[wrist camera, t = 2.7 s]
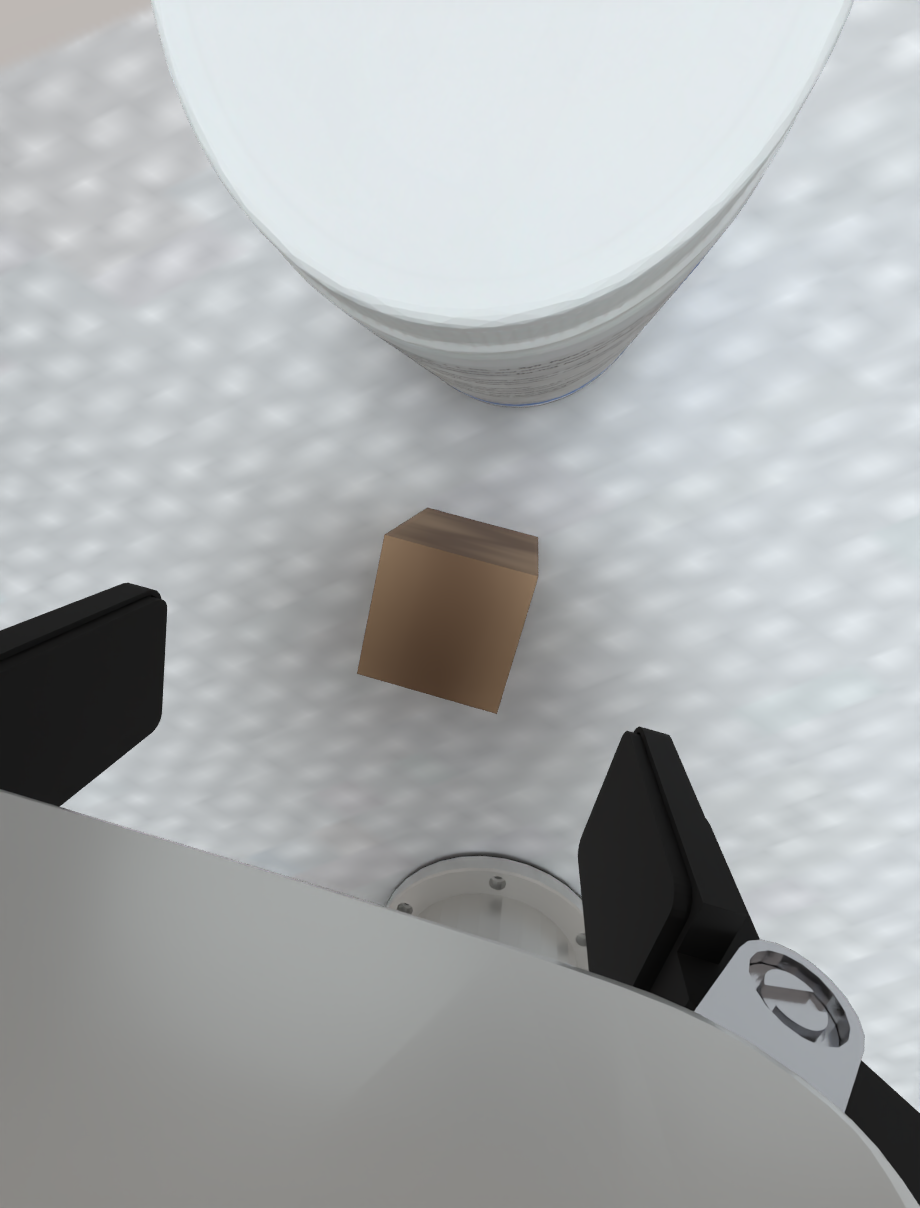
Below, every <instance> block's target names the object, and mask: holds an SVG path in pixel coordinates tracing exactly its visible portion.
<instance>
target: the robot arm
mask: <svg viewBox="0 0 920 1208" xmlns="http://www.w3.org/2000/svg"><path fill="white" fill-rule="evenodd" d="M166 622H167V605H166V602H165V601H164V600H161V596H160V594H159V593H158V592H157V591H156V590H152V589H149V588H145V587H142V586H138V585H134V584H131V583H123V584H121V585H118V586H115V587H113V588H110V589H108V590H105V591H102V592H100V593H97V594H95V595H92V596H89V597H87V598H84V599H81V600H79V601H76V602H74V603H71V604H68V605H66V606H63V607H61V608H58V609H55V610H53V611H50V612H48V613H45V614H42V615H40V616H37V617H35V618H32V619H29V620H27V621H24V622H22V623H19V624H16V625H14V626H11V627H9V628H6V629H3V630H1V631H0V1208H920V1113H919V1112H918V1111H917V1110H915V1109H914V1108H913V1107H912V1106H911V1105H910V1104H909V1103H908V1102H907V1101H906V1100H904V1099H903V1098H902V1097H901V1096H900V1095H899V1094H898V1093H897V1092H896V1091H895V1090H893V1089H892V1088H891V1087H890V1086H889V1085H888V1084H887V1083H886V1082H885V1081H883V1080H882V1079H881V1078H880V1077H879V1076H878V1075H877V1074H876V1073H875V1072H874V1071H872V1070H871V1069H870V1068H869V1067H868V1066H867V1065H866V1064H865V1063H864V1062H863V1061H861V1059H862V1056H863V1053H864V1042H865V1035H864V1032H863V1029H862V1026H861V1023H860V1020H859V1017H858V1016H857V1014H856V1012H855V1011H854V1009H853V1008H852V1006H851V1004H850V1003H849V1001H848V999H847V998H846V997H845V995H844V994H843V993H842V992H841V991H840V990H839V988H838V987H837V986H836V985H835V984H834V983H833V981H832V980H831V979H830V978H829V977H827V976H826V975H825V974H824V973H823V972H822V971H821V970H820V969H818V968H817V967H816V966H815V965H814V964H813V963H811V962H810V961H808V960H807V959H805V958H804V957H802V956H801V955H799V954H798V953H796V952H795V951H793V950H791V949H789V948H786V947H784V946H782V945H780V944H778V943H774V942H770V941H766V940H760V939H759V937H758V934H757V932H756V930H755V927H754V925H753V923H752V921H751V918H750V916H749V914H748V911H747V909H746V907H745V904H744V902H743V900H742V897H741V895H740V893H739V891H738V888H737V886H736V884H735V881H734V879H733V877H732V874H731V872H730V870H729V867H728V865H727V863H726V861H725V858H724V856H723V854H722V851H721V849H720V847H719V844H718V842H717V840H716V837H715V835H714V833H713V831H712V828H711V826H710V824H709V822H708V821H707V819H706V818H705V816H704V814H703V811H702V809H701V807H700V804H699V802H698V800H697V797H696V795H695V793H694V790H693V788H692V786H691V783H690V781H689V779H688V776H687V774H686V772H685V769H684V767H683V765H682V762H681V760H680V758H679V755H678V753H677V751H676V748H675V746H674V744H673V741H672V739H671V737H670V736H669V735H667V734H664V733H660V732H657V731H653V730H650V729H646V728H642V727H638V728H636V729H635V731H634V732H629V731H626V732H625V733H624V734H623V736H622V738H621V741H620V743H619V746H618V748H617V750H616V753H615V755H614V758H613V760H612V763H611V765H610V768H609V770H608V773H607V775H606V778H605V780H604V782H603V785H602V787H601V790H600V792H599V795H598V797H597V800H596V802H595V805H594V807H593V810H592V812H591V814H590V817H589V819H588V822H587V824H586V827H585V829H584V832H583V834H582V837H581V840H580V844H579V849H578V863H579V874H580V884H581V895H582V900H581V899H580V898H579V897H578V896H577V895H576V894H575V893H574V892H573V891H572V890H571V889H570V888H569V887H567V886H566V885H564V884H563V883H561V882H560V881H558V880H557V879H555V878H554V877H552V876H551V875H549V874H547V873H545V872H543V871H541V870H538V869H536V868H534V867H532V866H529V865H527V864H523V863H519V862H516V861H512V860H509V859H504V858H495V857H487V856H471V857H458V858H453V859H448V860H444V861H439V862H437V863H434V864H432V865H429V866H427V867H425V868H422V869H420V870H419V871H417V872H416V873H414V874H413V875H411V876H410V877H408V878H407V879H406V880H405V881H404V882H403V883H402V884H401V885H400V886H399V887H398V888H397V889H396V890H395V891H394V893H393V894H392V896H391V898H390V899H389V901H388V903H387V905H386V907H385V906H382V905H379V904H375V903H372V902H369V901H366V900H362V899H359V898H356V897H353V896H350V895H346V894H343V893H340V892H337V891H333V890H330V889H327V888H324V887H320V886H317V885H314V884H311V883H307V882H304V881H301V880H298V879H294V878H291V877H288V876H285V875H281V874H278V873H275V872H272V871H268V870H265V869H262V868H259V867H255V866H252V865H249V864H246V863H242V862H239V861H236V860H233V859H229V858H226V857H223V856H219V855H216V854H213V853H210V852H206V851H203V850H200V849H196V848H193V847H190V846H187V845H183V844H180V843H177V842H173V841H170V840H167V839H164V838H160V837H157V836H154V835H150V834H147V833H144V832H141V831H137V830H134V829H131V828H127V827H124V826H121V825H118V824H114V823H111V822H108V821H104V820H101V819H98V818H94V817H91V816H88V815H85V814H81V813H78V812H75V811H71V810H68V809H65V808H61V807H60V806H61V805H62V804H63V803H65V802H66V801H67V800H68V799H70V798H71V797H72V796H73V795H75V794H76V793H77V792H78V791H80V790H81V789H82V788H83V787H85V786H86V785H87V784H88V783H90V782H91V781H92V780H93V779H95V778H96V777H97V776H98V775H100V774H101V773H102V772H103V771H105V770H106V769H107V768H108V767H110V766H111V765H112V764H113V763H115V762H116V761H117V760H118V759H120V758H121V757H122V756H123V755H125V754H126V753H127V752H128V751H130V750H131V749H132V748H133V747H135V746H136V745H137V744H138V743H140V742H141V741H142V740H143V739H145V738H146V737H147V736H148V735H150V734H151V733H152V732H153V731H154V730H155V729H156V727H157V726H158V724H159V722H160V719H161V715H162V700H163V681H164V661H165V642H166Z"/></svg>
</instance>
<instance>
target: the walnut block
mask: <svg viewBox="0 0 920 1208" xmlns="http://www.w3.org/2000/svg"><path fill="white" fill-rule="evenodd" d="M537 579H538V537H535V536H531V535H528V534H524V533H520V532H517V531H513V530H509V529H505V528H502V527H498V526H494V525H490V524H487V523H483V522H479V521H475V520H472V519H468V518H464V517H460V516H457V515H453V514H449V513H445V512H442V511H438V510H434V509H431V508H426V509H425V510H423V511H421V512H420V513H418V514H417V515H415V516H414V517H412V518H410V519H409V520H407V521H406V522H404V523H402V524H401V525H399V526H398V527H396V528H394V529H393V530H391V531H390V532H388V533H387V534H385V535H384V540H383V545H382V550H381V555H380V560H379V565H378V570H377V575H376V580H375V586H374V591H373V596H372V601H371V606H370V611H369V616H368V621H367V626H366V631H365V636H364V641H363V646H362V651H361V656H360V661H359V666H358V671H357V674H360V675H364V676H367V677H370V678H374V679H377V680H381V681H384V682H388V683H391V684H395V685H398V686H402V687H405V688H409V689H412V690H416V691H419V692H423V693H426V694H429V695H433V696H436V697H440V698H443V699H447V700H450V701H454V702H457V703H461V704H464V705H468V706H471V707H475V708H478V709H482V710H485V711H489V712H492V713H495V714H497V712H498V708H499V705H500V702H501V698H502V695H503V692H504V688H505V685H506V682H507V679H508V675H509V672H510V669H511V665H512V662H513V659H514V655H515V652H516V649H517V645H518V642H519V639H520V636H521V632H522V629H523V626H524V622H525V619H526V616H527V612H528V609H529V606H530V602H531V599H532V596H533V593H534V589H535V586H536V583H537Z"/></svg>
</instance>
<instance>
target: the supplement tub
mask: <svg viewBox="0 0 920 1208" xmlns="http://www.w3.org/2000/svg"><path fill="white" fill-rule="evenodd" d="M853 2H854V0H151V4H152V9H153V13H154V18H155V22H156V26H157V31H158V33H159V36H160V40H161V44H162V47H163V51H164V54H165V58H166V62H167V65H168V69H169V72H170V75H171V78H172V80H173V83H174V86H175V88H176V91H177V94H178V96H179V99H180V102H181V104H182V107H183V109H184V112H185V114H186V116H187V119H188V121H189V123H190V125H191V127H192V129H193V131H194V133H195V135H196V137H197V140H198V142H199V144H200V146H201V148H202V150H203V151H204V153H205V155H206V157H207V158H208V160H209V162H210V164H211V165H212V167H213V169H214V170H215V172H216V173H217V175H218V177H219V178H220V180H221V181H222V183H223V184H224V186H225V187H226V189H227V190H228V191H229V193H230V194H231V196H232V197H233V199H234V200H235V201H236V203H237V204H238V205H239V206H240V208H241V209H242V210H243V211H244V213H245V214H246V215H247V216H248V217H249V219H250V220H251V221H252V222H253V224H254V225H255V226H256V227H257V229H258V230H259V231H260V232H261V233H262V234H263V235H264V236H265V237H266V238H267V239H268V240H269V241H270V242H271V243H272V244H273V245H274V246H275V247H276V248H277V249H278V250H279V252H280V253H281V254H282V255H283V256H284V258H285V259H286V260H287V261H288V262H289V263H290V264H291V265H292V266H293V268H294V269H295V270H296V271H297V272H298V273H299V274H300V275H301V276H302V277H303V278H304V279H305V280H306V281H307V282H308V283H309V284H310V285H311V286H312V287H314V288H315V289H316V290H317V291H318V292H319V293H321V294H322V295H323V296H324V297H326V298H327V299H328V300H329V301H331V302H332V303H333V304H334V305H336V306H337V307H338V308H340V309H341V310H342V311H344V312H345V313H346V314H348V315H349V316H350V317H352V318H353V319H355V320H356V321H357V322H359V323H360V324H361V325H363V326H364V327H366V328H367V329H368V330H370V331H371V332H373V333H374V334H375V335H377V336H378V337H380V338H381V339H383V340H384V341H386V342H387V343H389V344H390V345H392V346H393V347H395V348H396V349H398V350H399V351H401V352H402V353H404V354H405V355H407V356H408V357H410V358H411V359H413V360H414V361H416V362H417V363H418V364H420V365H421V366H423V367H424V368H426V369H427V370H429V371H430V372H432V373H433V374H435V375H436V376H438V377H439V378H440V379H442V380H443V381H445V382H446V383H447V384H449V385H450V386H452V387H453V388H455V389H457V390H459V391H460V392H462V393H464V394H466V395H468V396H470V397H472V398H474V399H477V400H479V401H483V402H486V403H489V404H493V405H499V406H505V407H531V406H538V405H543V404H546V403H549V402H552V401H556V400H559V399H561V398H564V397H566V396H568V395H571V394H573V393H575V392H576V391H578V390H580V389H582V388H583V387H585V386H586V385H588V384H589V383H590V382H592V381H593V380H594V379H596V378H597V377H598V376H600V375H601V374H602V373H603V372H604V371H605V370H606V369H608V367H609V366H610V365H611V364H612V363H613V362H614V361H615V360H616V359H617V358H618V357H619V356H620V355H621V354H622V353H623V351H624V350H625V349H626V348H627V347H628V345H629V344H630V343H631V342H632V341H633V340H634V339H635V337H636V336H637V335H638V334H639V333H640V332H641V330H642V329H643V328H644V327H645V326H646V325H647V323H648V322H649V321H650V320H651V319H652V318H653V316H654V315H655V314H656V313H657V312H658V311H659V310H660V308H661V307H662V306H663V305H664V304H665V303H666V302H667V300H668V299H669V298H670V297H671V296H672V295H673V294H674V292H675V291H676V290H677V289H678V288H679V287H680V285H681V284H682V283H683V282H684V281H685V280H686V278H687V277H688V276H689V275H690V274H691V273H692V271H693V270H694V269H695V268H696V267H697V266H698V264H699V263H700V262H701V261H702V259H703V258H704V257H705V256H706V254H707V253H708V252H709V250H710V249H711V248H712V247H713V245H714V244H715V243H716V242H717V240H718V239H719V238H720V237H721V235H722V234H723V233H724V232H725V231H726V229H727V228H728V227H729V226H730V224H731V223H732V222H733V220H734V219H735V218H736V216H737V215H738V213H739V212H740V211H741V209H742V208H743V206H744V205H745V204H746V202H747V201H748V199H749V197H750V196H751V194H752V193H753V191H754V190H755V188H756V186H757V185H758V183H759V182H760V180H761V178H762V176H763V175H764V173H765V171H766V170H767V168H768V166H769V165H770V163H771V161H772V160H773V158H774V157H775V155H776V153H777V152H778V150H779V148H780V147H781V145H782V143H783V142H784V140H785V138H786V136H787V134H788V132H789V131H790V129H791V127H792V125H793V123H794V121H795V119H796V117H797V115H798V113H799V111H800V109H801V108H802V106H803V104H804V102H805V101H806V99H807V97H808V95H809V94H810V92H811V90H812V88H813V87H814V85H815V83H816V81H817V80H818V78H819V76H820V74H821V73H822V71H823V69H824V67H825V65H826V63H827V61H828V59H829V57H830V55H831V53H832V51H833V49H834V47H835V44H836V42H837V40H838V38H839V35H840V33H841V31H842V29H843V26H844V24H845V22H846V20H847V17H848V15H849V13H850V10H851V7H852V5H853Z"/></svg>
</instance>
